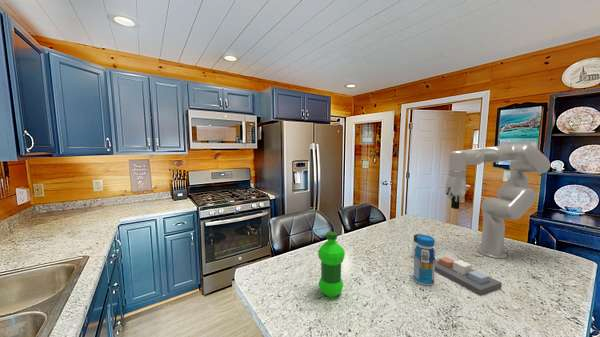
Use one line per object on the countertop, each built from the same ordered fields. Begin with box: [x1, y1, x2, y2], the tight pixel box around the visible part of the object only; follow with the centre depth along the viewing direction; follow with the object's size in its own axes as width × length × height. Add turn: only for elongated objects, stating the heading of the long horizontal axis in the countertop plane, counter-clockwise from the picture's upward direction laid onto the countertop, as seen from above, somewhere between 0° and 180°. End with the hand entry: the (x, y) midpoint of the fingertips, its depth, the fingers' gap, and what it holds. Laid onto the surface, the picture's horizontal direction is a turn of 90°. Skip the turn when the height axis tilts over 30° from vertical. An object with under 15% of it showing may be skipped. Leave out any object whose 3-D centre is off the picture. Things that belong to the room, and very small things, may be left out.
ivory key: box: [453, 259, 472, 276], centre depth 105 cm, size 5×5×4 cm
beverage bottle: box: [412, 234, 437, 286], centre depth 102 cm, size 8×8×20 cm
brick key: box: [438, 256, 455, 269], centre depth 112 cm, size 5×5×4 cm
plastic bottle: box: [317, 231, 346, 298], centre depth 93 cm, size 10×10×25 cm
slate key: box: [468, 270, 490, 285], centre depth 99 cm, size 5×5×4 cm
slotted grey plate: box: [434, 259, 503, 296], centre depth 106 cm, size 14×24×2 cm, turn 21°
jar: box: [411, 233, 423, 259], centre depth 123 cm, size 9×8×12 cm
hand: (455, 208), depth 123 cm, fingers closed
